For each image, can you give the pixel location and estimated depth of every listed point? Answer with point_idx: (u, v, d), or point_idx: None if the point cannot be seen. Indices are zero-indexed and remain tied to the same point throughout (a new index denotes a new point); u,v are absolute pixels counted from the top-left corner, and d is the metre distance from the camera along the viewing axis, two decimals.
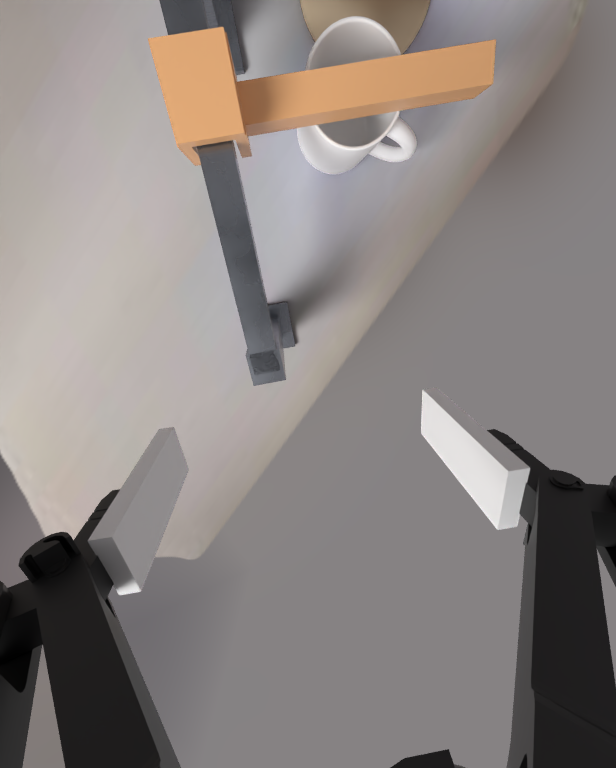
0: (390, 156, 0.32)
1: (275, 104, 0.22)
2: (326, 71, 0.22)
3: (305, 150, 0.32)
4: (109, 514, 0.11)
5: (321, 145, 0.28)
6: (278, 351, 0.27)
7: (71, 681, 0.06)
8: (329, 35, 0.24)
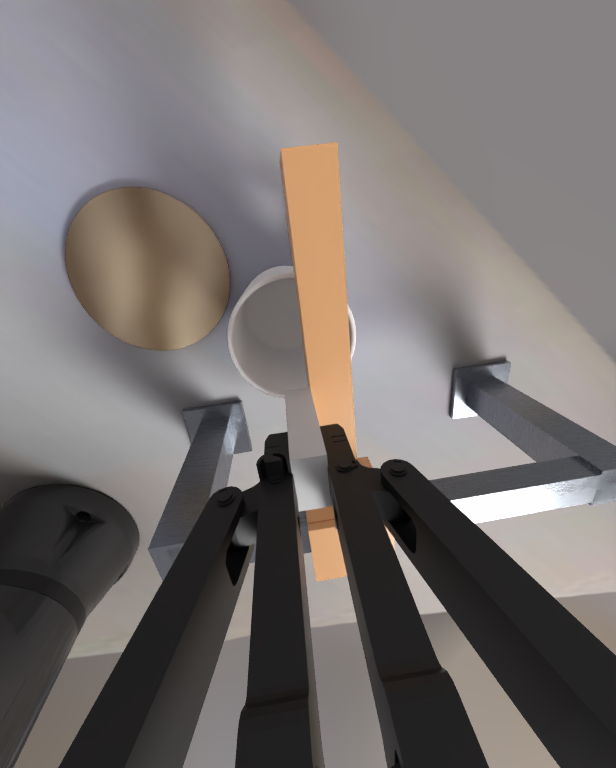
0: None
1: None
2: (316, 403, 0.18)
3: None
4: (293, 444, 0.13)
5: None
6: (605, 472, 0.20)
7: (266, 571, 0.08)
8: (244, 368, 0.21)
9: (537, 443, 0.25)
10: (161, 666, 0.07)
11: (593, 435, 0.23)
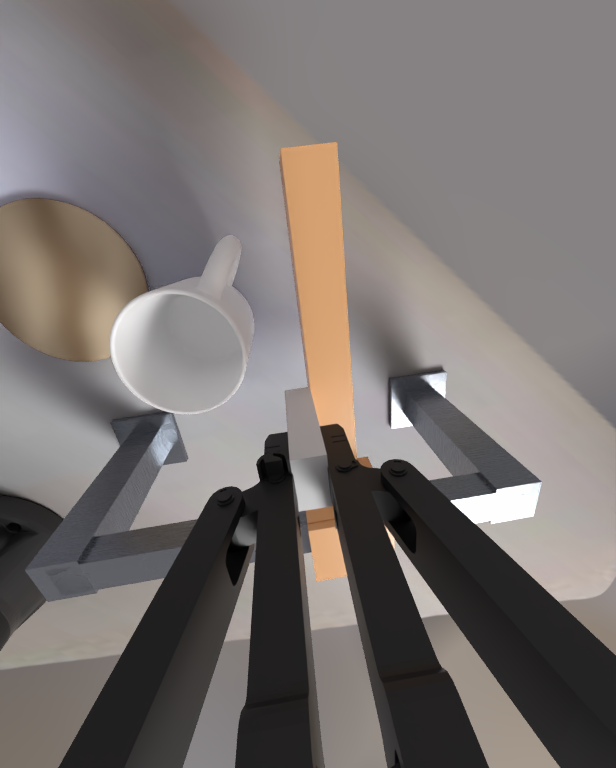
0: (235, 260, 0.24)
1: None
2: (316, 403, 0.18)
3: None
4: (293, 444, 0.13)
5: None
6: (499, 490, 0.20)
7: (266, 571, 0.08)
8: (135, 384, 0.20)
9: (452, 457, 0.25)
10: (161, 666, 0.07)
11: (502, 450, 0.23)
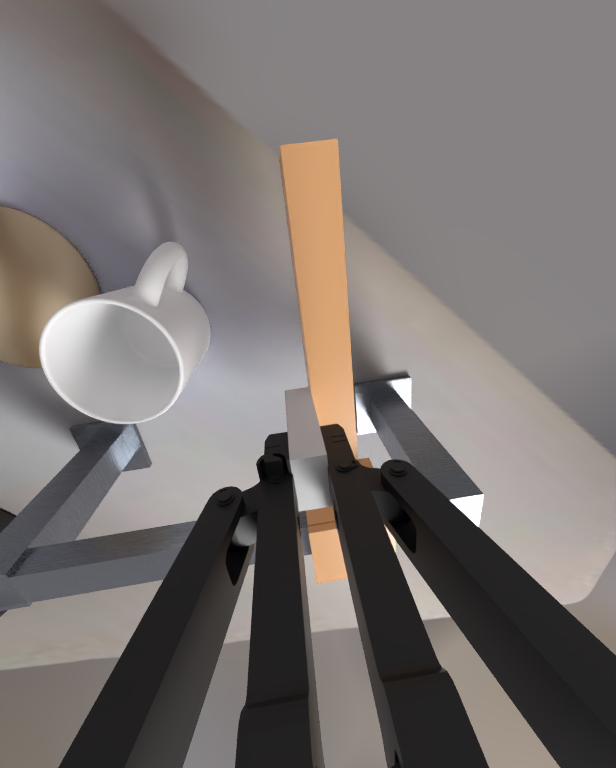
0: (181, 266, 0.23)
1: None
2: (316, 404, 0.18)
3: None
4: (293, 444, 0.13)
5: None
6: None
7: (266, 571, 0.08)
8: (71, 393, 0.20)
9: None
10: (161, 666, 0.07)
11: (451, 460, 0.22)
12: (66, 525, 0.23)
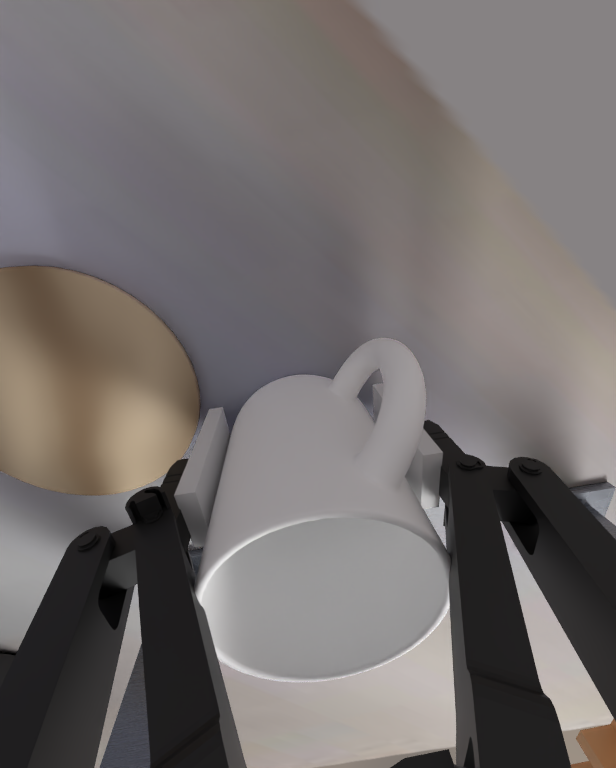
0: (378, 368, 0.14)
1: None
2: None
3: None
4: (186, 475, 0.12)
5: None
6: None
7: (155, 618, 0.07)
8: (229, 639, 0.11)
9: None
10: (28, 741, 0.06)
11: None
12: None
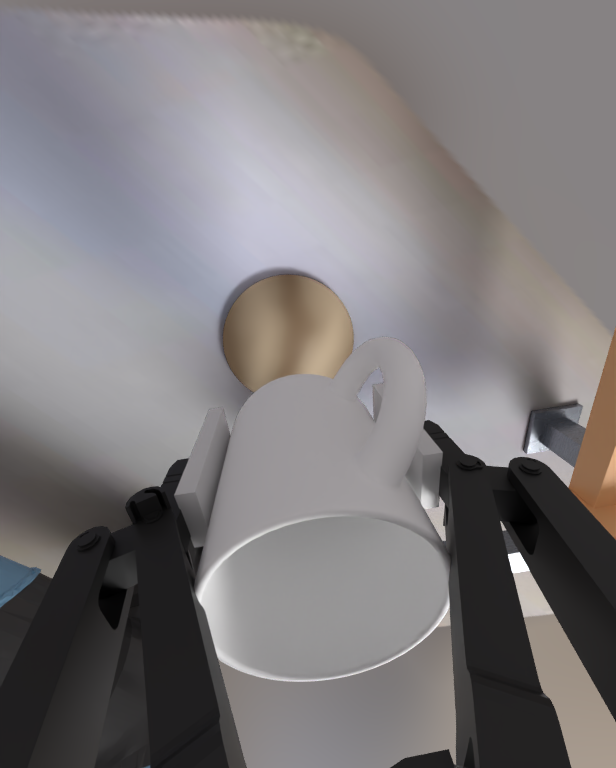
0: None
1: None
2: None
3: None
4: (186, 475, 0.12)
5: None
6: None
7: (155, 618, 0.07)
8: (228, 638, 0.11)
9: None
10: (28, 740, 0.06)
11: None
12: None
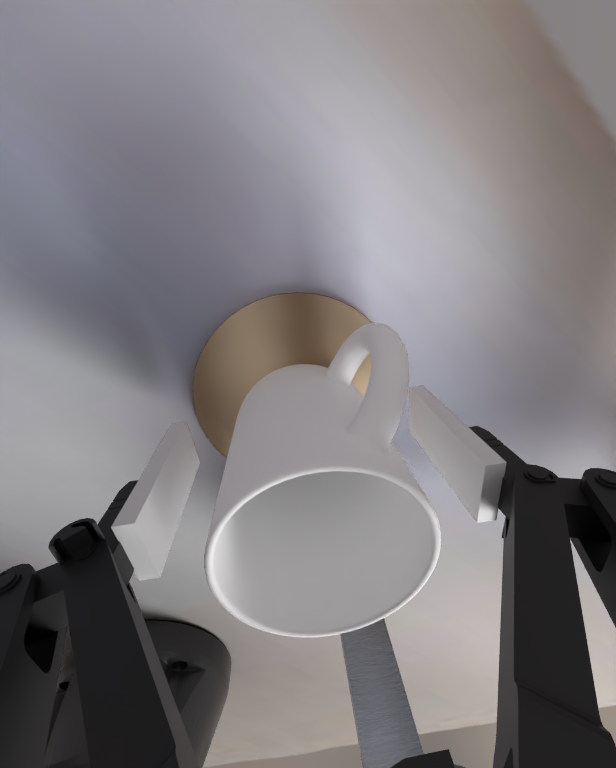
0: None
1: None
2: None
3: None
4: (130, 502, 0.11)
5: None
6: None
7: (94, 662, 0.07)
8: (239, 596, 0.12)
9: None
10: None
11: None
12: None
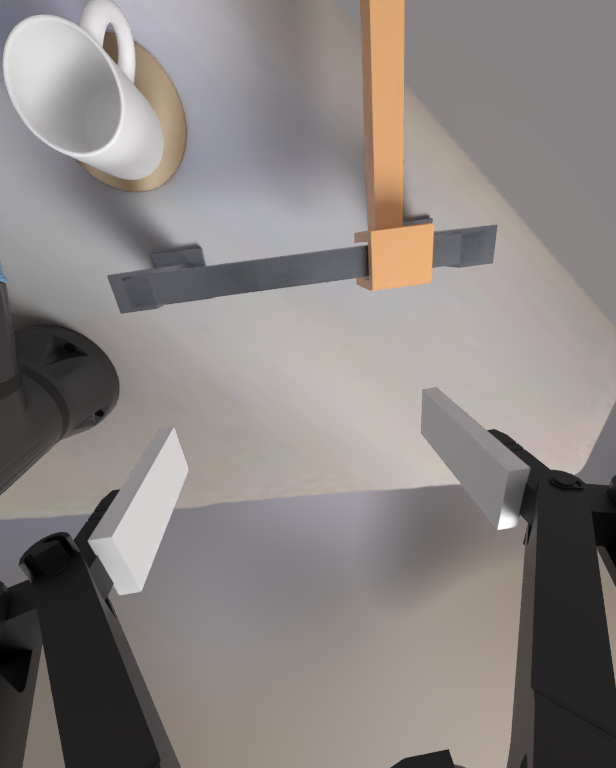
0: (127, 46, 0.27)
1: (392, 196, 0.26)
2: (376, 140, 0.24)
3: (145, 168, 0.32)
4: (109, 514, 0.11)
5: (129, 140, 0.26)
6: (464, 230, 0.26)
7: (71, 681, 0.06)
8: (33, 125, 0.24)
9: None
10: None
11: (471, 227, 0.29)
12: None
